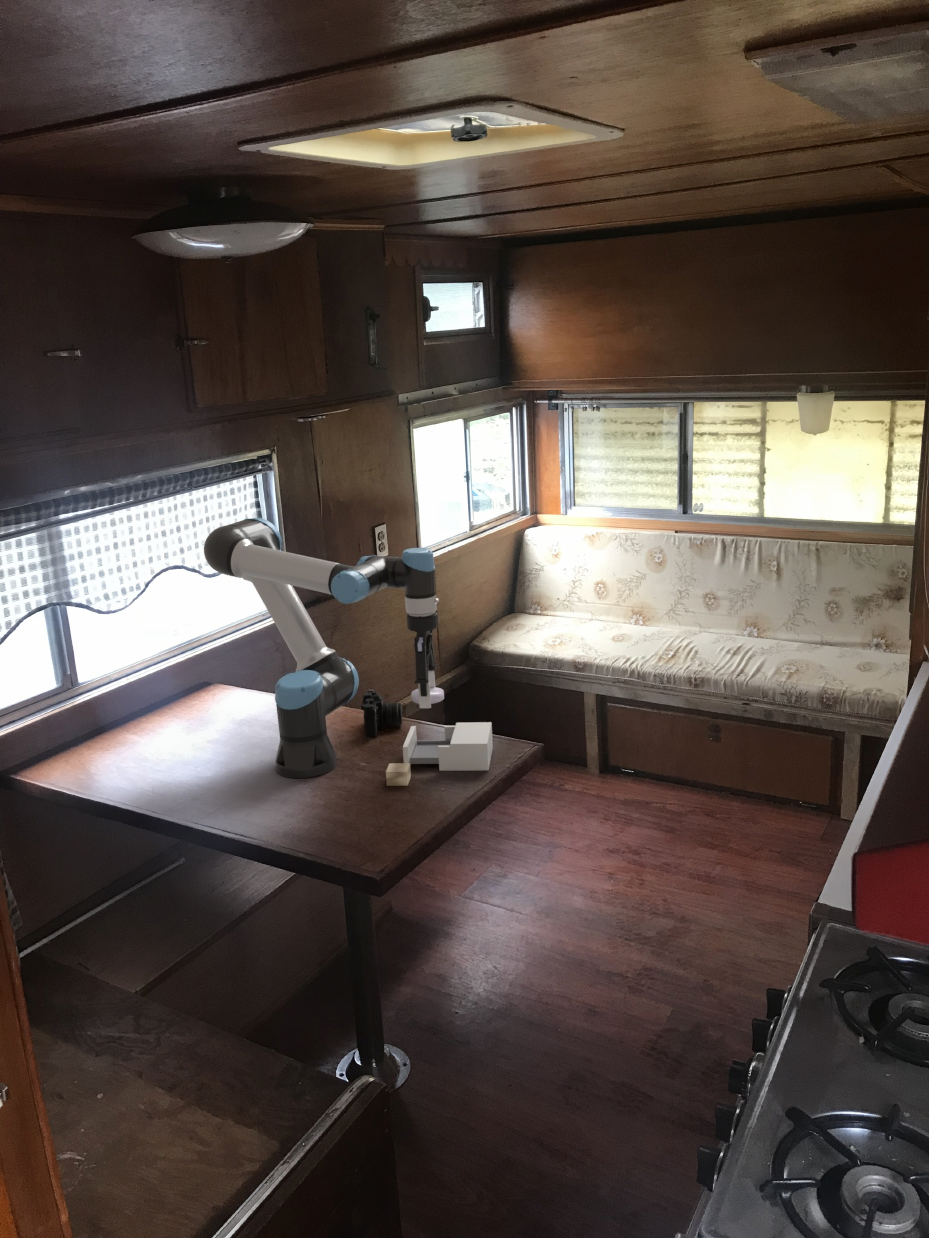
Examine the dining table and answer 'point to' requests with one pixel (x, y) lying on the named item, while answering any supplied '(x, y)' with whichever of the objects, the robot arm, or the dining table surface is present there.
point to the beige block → (398, 774)
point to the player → (466, 747)
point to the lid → (435, 695)
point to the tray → (421, 749)
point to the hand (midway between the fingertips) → (427, 701)
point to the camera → (379, 713)
